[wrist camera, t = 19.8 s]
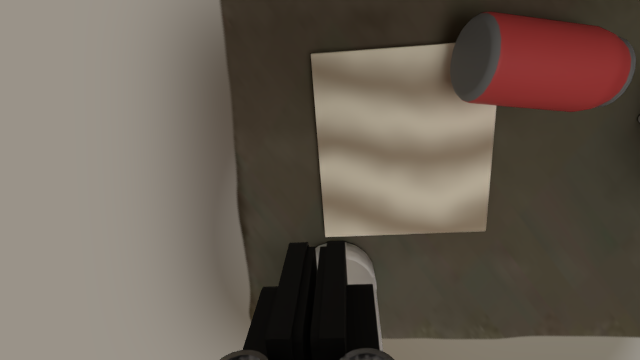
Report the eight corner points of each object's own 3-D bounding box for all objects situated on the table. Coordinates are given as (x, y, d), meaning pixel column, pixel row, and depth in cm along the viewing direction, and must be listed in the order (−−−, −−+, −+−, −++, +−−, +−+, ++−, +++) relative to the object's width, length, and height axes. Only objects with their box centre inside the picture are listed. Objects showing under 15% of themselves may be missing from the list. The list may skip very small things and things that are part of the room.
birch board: (311, 53, 36) (310, 54, 34) (496, 39, 34) (501, 39, 33) (325, 231, 42) (325, 237, 41) (481, 225, 41) (485, 231, 40)
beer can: (445, 36, 33) (568, 51, 36) (447, 112, 33) (572, 122, 35) (494, -9, 27) (640, 12, 29) (498, 84, 26) (647, 99, 29)
